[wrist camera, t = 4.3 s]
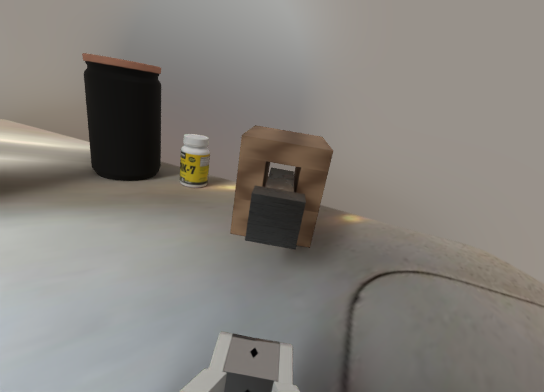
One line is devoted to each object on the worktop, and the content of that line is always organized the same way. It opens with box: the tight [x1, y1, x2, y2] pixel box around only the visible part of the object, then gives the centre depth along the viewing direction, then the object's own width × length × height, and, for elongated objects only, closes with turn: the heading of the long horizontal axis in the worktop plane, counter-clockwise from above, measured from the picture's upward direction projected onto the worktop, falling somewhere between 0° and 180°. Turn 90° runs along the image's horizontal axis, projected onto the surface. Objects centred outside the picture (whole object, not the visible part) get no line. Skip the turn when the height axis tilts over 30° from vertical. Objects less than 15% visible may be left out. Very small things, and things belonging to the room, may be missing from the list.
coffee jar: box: [82, 53, 161, 181], centre depth 44 cm, size 11×11×18 cm
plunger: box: [245, 168, 306, 249], centre depth 28 cm, size 4×12×4 cm, turn 176°
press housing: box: [231, 126, 333, 248], centre depth 36 cm, size 10×11×12 cm
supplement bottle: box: [180, 134, 210, 188], centre depth 46 cm, size 5×5×8 cm
